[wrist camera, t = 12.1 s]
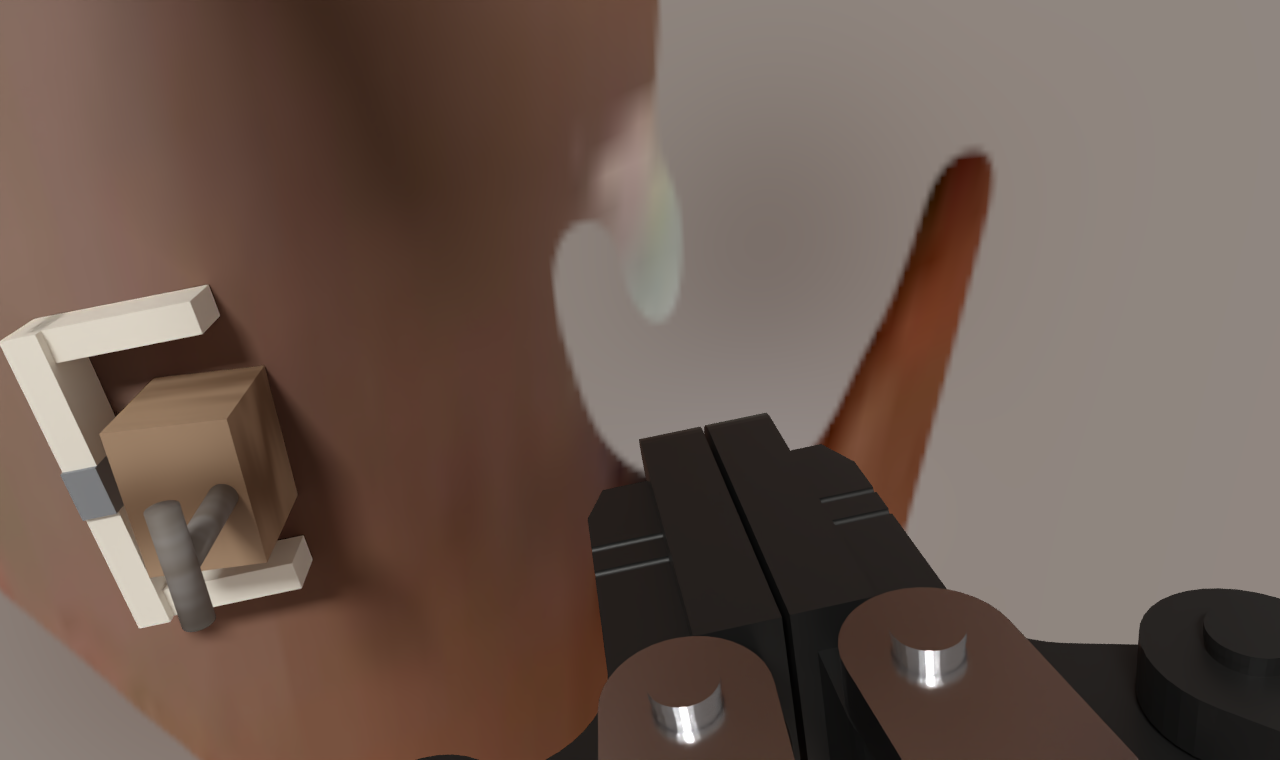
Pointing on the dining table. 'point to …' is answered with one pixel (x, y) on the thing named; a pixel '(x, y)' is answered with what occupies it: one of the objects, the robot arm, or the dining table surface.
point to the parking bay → (80, 411)
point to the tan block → (201, 478)
